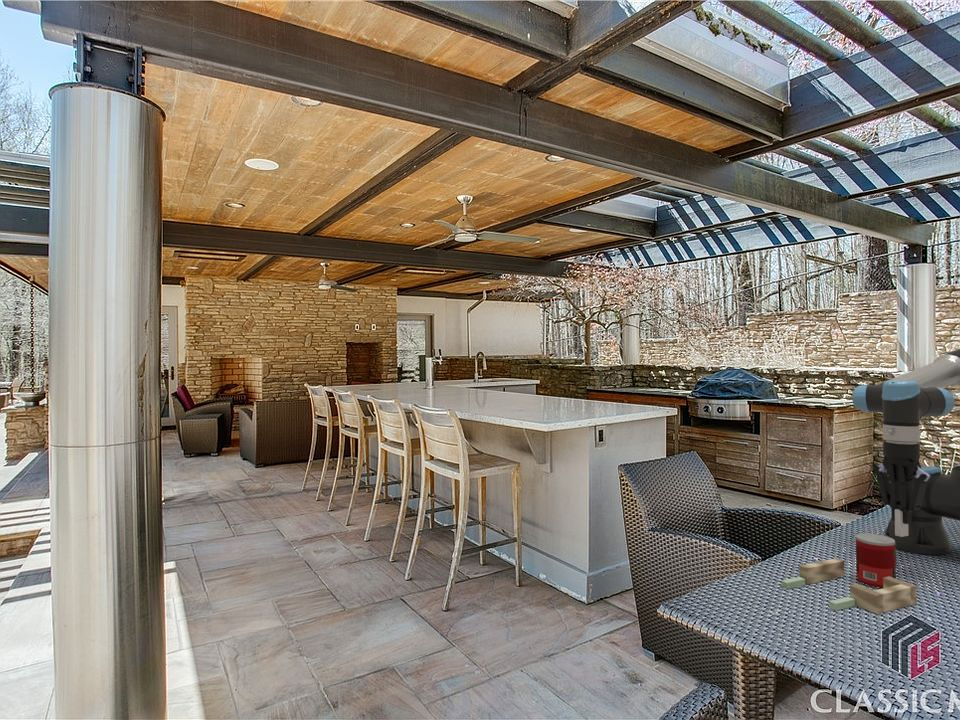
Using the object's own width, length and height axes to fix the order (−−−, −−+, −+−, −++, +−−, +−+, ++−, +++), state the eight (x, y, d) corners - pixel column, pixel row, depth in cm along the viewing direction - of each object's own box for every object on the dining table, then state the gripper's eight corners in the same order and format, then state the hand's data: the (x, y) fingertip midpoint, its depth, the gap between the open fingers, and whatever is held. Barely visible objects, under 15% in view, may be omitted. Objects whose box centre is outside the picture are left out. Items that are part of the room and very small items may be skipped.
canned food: (902, 590, 134) (901, 543, 134) (865, 587, 135) (864, 542, 135) (886, 577, 141) (885, 533, 141) (851, 575, 143) (850, 532, 143)
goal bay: (799, 582, 139) (799, 576, 139) (855, 606, 126) (854, 599, 126) (781, 586, 137) (781, 580, 137) (835, 610, 124) (835, 603, 124)
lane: (837, 573, 144) (836, 558, 144) (916, 603, 126) (916, 586, 126) (799, 581, 139) (799, 565, 139) (876, 614, 122) (876, 595, 122)
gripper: (864, 439, 146) (865, 529, 146) (919, 446, 134) (919, 545, 134) (884, 437, 149) (885, 526, 149) (939, 444, 137) (940, 541, 137)
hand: (901, 535), depth 141 cm, fingers closed
